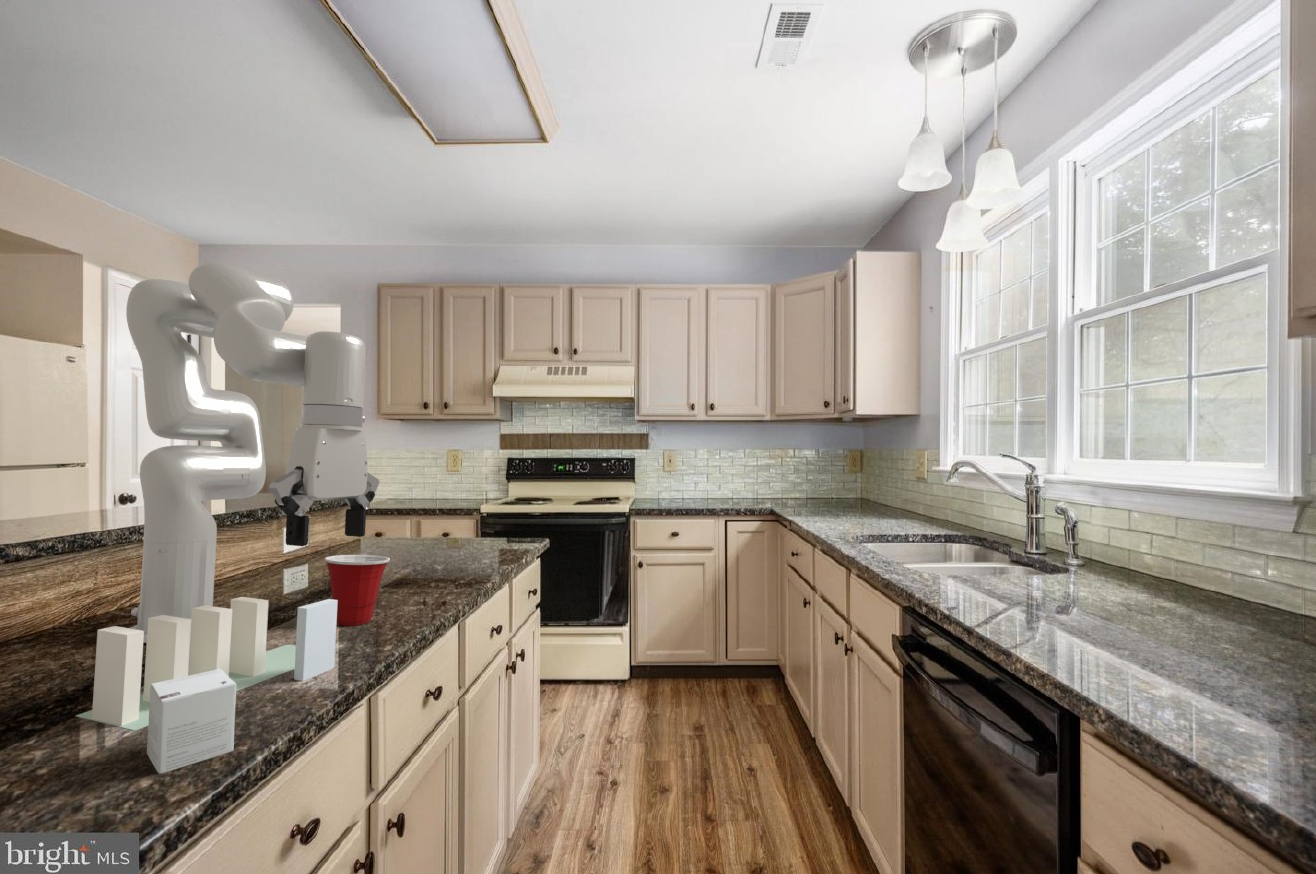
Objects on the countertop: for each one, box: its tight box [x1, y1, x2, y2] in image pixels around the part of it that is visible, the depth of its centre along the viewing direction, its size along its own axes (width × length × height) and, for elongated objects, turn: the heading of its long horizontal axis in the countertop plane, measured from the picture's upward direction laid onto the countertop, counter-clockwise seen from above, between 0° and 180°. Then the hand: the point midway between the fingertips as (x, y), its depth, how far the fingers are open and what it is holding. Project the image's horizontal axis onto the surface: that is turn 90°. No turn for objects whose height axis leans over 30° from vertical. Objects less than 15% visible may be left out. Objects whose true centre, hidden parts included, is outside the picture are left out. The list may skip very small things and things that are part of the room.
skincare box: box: [146, 669, 237, 775], centre depth 58 cm, size 6×6×7 cm
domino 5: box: [293, 598, 338, 682], centre depth 79 cm, size 5×2×10 cm, turn 163°
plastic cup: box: [324, 554, 391, 627], centre depth 104 cm, size 11×11×12 cm
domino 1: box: [91, 625, 144, 726], centre depth 64 cm, size 5×2×10 cm, turn 73°
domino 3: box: [188, 605, 232, 677], centre depth 74 cm, size 5×2×10 cm, turn 73°
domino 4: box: [229, 596, 270, 677], centre depth 78 cm, size 5×2×10 cm, turn 73°
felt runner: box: [75, 644, 337, 732], centre depth 76 cm, size 10×26×1 cm, turn 163°
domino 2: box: [143, 615, 191, 702], centre depth 69 cm, size 5×2×10 cm, turn 73°
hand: (327, 540), depth 79 cm, fingers open, 9 cm apart
